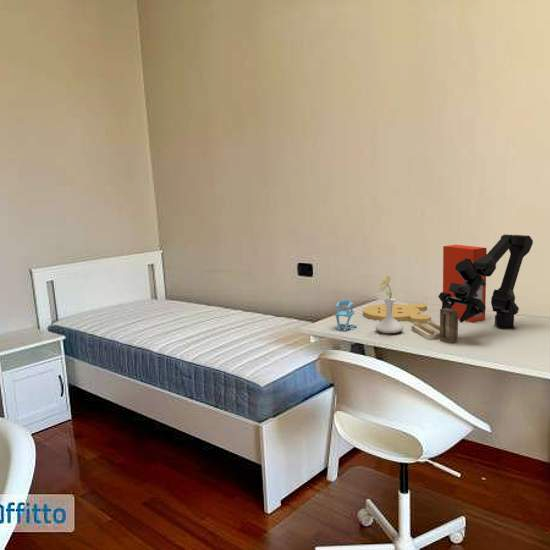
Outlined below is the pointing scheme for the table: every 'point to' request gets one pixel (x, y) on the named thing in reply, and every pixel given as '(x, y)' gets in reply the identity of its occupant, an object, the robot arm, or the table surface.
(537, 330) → the table surface
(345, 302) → the chair
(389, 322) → the flower in vase
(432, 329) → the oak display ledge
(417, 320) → the decorative plaque
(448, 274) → the file binder
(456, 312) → the walnut photo frame
